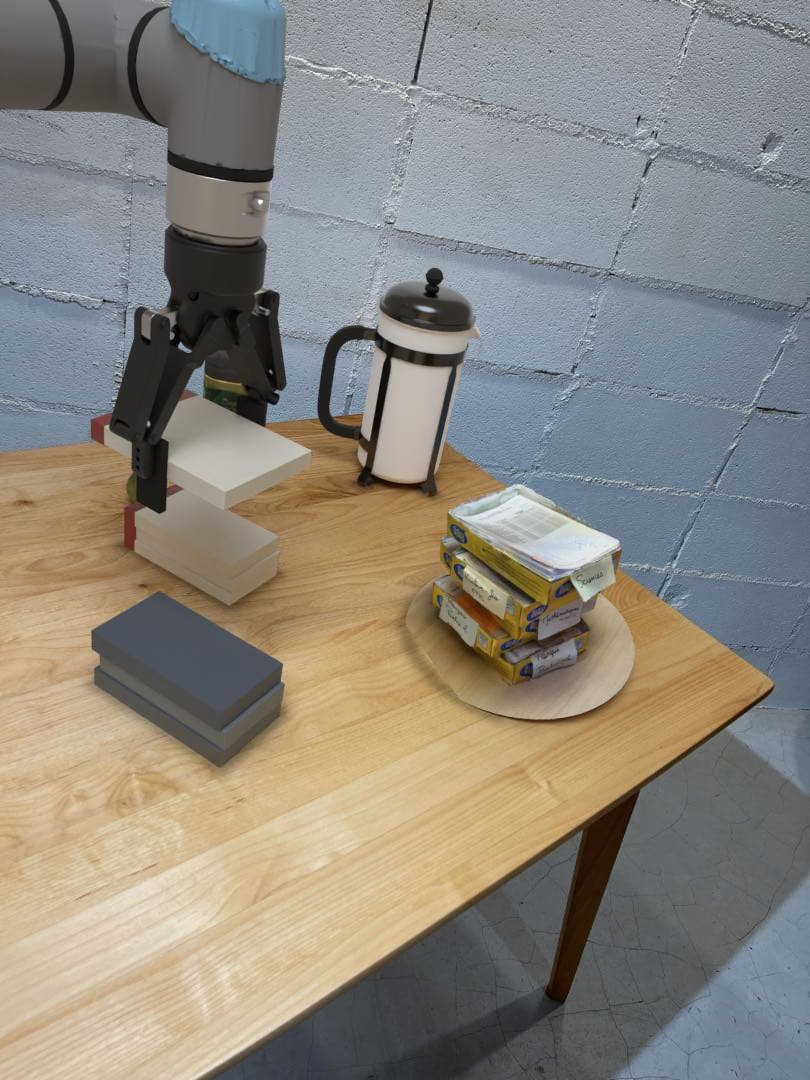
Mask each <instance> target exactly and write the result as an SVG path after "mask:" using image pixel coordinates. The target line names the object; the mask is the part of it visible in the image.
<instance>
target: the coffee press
mask: <svg viewBox="0 0 810 1080" xmlns="http://www.w3.org/2000/svg"><path fill="white" fill-rule="evenodd" d="M444 279H445V278H444V273H443V271H442V270H441V269H440V268H438V267H431V268H430V269H428V270H427V271H426V274H425V280H415V279H412V280H403V281H399V282H396V283H394V284H392V285H391V286H390V287H389V288H387V289H386V291H385V292H384V294H383V295H382V296H381V297H379V299H378V300H379V301H378V308H379V311H380V313H379V320H378V324H377V325H376V327H375V328H373V327H368V326H364V325H363V324H362V325H361V324H352V325H346V326H343V327H341V328H340V329H338V330H336V331H335V333H333V334H332V336H331V337H330V338H329V340H328V341H327V343H326V346H325V349H324V354H323V358H322V365H321V370H320V371H321V372H320V379H319V387H318V393H317V404H316V408H317V409H316V411H317V417H318V420H319V423H320V425H321V426H322V427H323V429H324V430H326V431H327V432H328V433H330V434H332V435H333V436H337V437H340V438H343V439H350V440H354V441H357V442H358V444H357V445H358V446H357V449H356V453H357V459H358V461H359V464H360V465H361V466H362V467H363V469H362V471H361V472H360V474H359V475H358V476H357V479H356V484H357V485H359V486H360V487H362V488H365V485H366V486H368V487H369V486H371V485H372V484H373V482H374V481H375V480H376V479H378V478H379V479H382V480H384V481H389V482H392V483H398V484H418V486H419V487H420V489H421V491H422V493H423V494H427V493H429V495H428V497H432V496H434V495H436V494H438V487H437V485H436V480H435V475H436V473H437V472H438V471H439V468H440V464H441V460H442V455H443V451H444V446H445V442H446V438H447V434H448V430H449V426H450V421H451V417H452V412H453V407H454V403H455V400H456V395H457V390H458V386H459V382H460V377H461V373H462V369H463V364H464V362H465V361H466V359H467V356H468V352H469V351H468V350H469V346H470V345H469V341H470V339H478V340H482V338H483V336H482V333H481V331H480V329H479V327H478V324H477V323H476V322H477V316H476V314H475V312H474V306H473V304H472V302H471V301H470V300H469V298H468V297H467V296H466V295H464V294H463V293H462V292H460V291H459V290H457V289H455V288H452V287H450V286H447V285H444V284H442V282H443V280H444ZM362 340H363V341H364V340H365V341H373V342H374V349H373V355H372V362H371V367H370V372H369V379H368V384H367V385H368V386H367V391H366V398H365V403H364V410H363V415H362V420H361V421H362V422H361V423H360V424H359V425H350V424H344V423H341V422H339V421H337V420H335V419H334V417H333V416H332V413H331V410H330V406H331V405H330V404H331V398H332V390H333V383H334V377H335V371H336V363H337V358H338V354H339V352H340V350H341V349H342V347H343V346H344V345H345V344H346V343H348V342H351V341H362ZM426 481H427V482H426Z"/></svg>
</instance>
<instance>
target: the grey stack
mask: <svg viewBox="0 0 810 1080" xmlns="http://www.w3.org/2000/svg"><path fill="white" fill-rule="evenodd" d="M90 634H91V635H90V638H91V650H92V651H94V652H95V653H97V654H98V655H99V664H98V665H96V666H95V667H94V668H93V677H94V679H93V680H94V683H93V684H94V685H95V686H96V687H98V688H99V689H100V690H102V691H104V692H105V693H107V694H108V695H110V696H111V697H113V698H114V699H116V700H117V701H119V702H120V703H122V704H123V705H125V707H127V708H129V709H131V710H132V711H134V712H135V713H136V714H138V715H139V716H141V717H143V718H144V719H146V720H147V721H149V722H150V723H152V724H153V725H155V726H156V727H157V728H159V729H160V730H162V731H163V732H165V733H167V734H168V735H170V736H171V737H172V738H174V739H175V740H177V741H179V742H180V743H181V744H183V745H184V746H186V747H187V748H189V749H190V750H192V751H193V752H195V753H196V754H198V755H200V756H201V757H202V758H204V759H205V760H207V761H209V762H210V763H211V764H212V765H214V766H215V767H218V768H219V769H220V768H222V767H223V766H224V765H226V764H227V763H228V762H229V761H230V760H232V759H233V758H234V757H235V756H236V755H237V754H238V753H239V752H240V751H242V750H243V749H244V748H245V747H246V746H247V745H248V744H250V743H251V742H252V741H253V740H254V739H256V737H258V736H259V735H260V734H261V733H262V732H263V731H265V730H266V729H267V728H268V727H269V726H270V725H271V724H273V723H274V722H275V721H276V720H277V719H278V718H279V717H280V713H281V707H282V702H283V700H284V699H283V698H284V691H285V685H286V684H285V682H283V681H282V674H283V669H284V668H283V667H284V663H283V662H281V660H278V659H276V658H275V657H273V656H271V655H270V654H268V653H266V652H264V651H263V650H261V649H259V648H257V647H256V646H254V645H252V644H251V643H249V642H247V641H245V640H244V639H243V638H240V637H239V636H237V635H236V634H234V633H232V632H230V631H228V630H227V629H225V628H223V627H222V626H221V625H218V624H217V623H215V622H214V621H211V620H210V619H208V618H207V617H205V616H203V615H202V614H200V613H198V612H196V611H194V610H193V609H191V608H190V607H187V605H184V604H183V603H181V602H180V601H177V600H176V599H174V598H172V597H171V596H169V595H167V594H166V593H164V592H162V591H160V590H157V592H155V593H154V594H151V595H149V596H148V597H146V598H145V599H143V600H141V601H139V602H138V603H136V604H134V605H132V606H131V607H129V608H127V609H126V610H123V611H122V612H120V613H119V614H117V615H115V616H113V617H112V618H110V619H108V620H107V621H104V622H103V623H101V624H100V625H97V626H96V627H94V628H93V629H91V631H90Z"/></svg>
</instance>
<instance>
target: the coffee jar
mask: <svg viewBox="0 0 810 1080" xmlns="http://www.w3.org/2000/svg"><path fill="white" fill-rule="evenodd" d="M202 382H203V385H202V397H203V398H205V399H207V400H209V401H211V402H213V403H215V404H217V405H219V406H221V407H223V408H225V409H227V410H229V411H231V412H234V413H236V406H237V396H240V395H245V396H247V397H248V393H246V392H245V391H244V389H243V386H242V384H241V382H240V380H239V378H238V376H237V374H236V372H235V370H234V367H233V365H232V363H231V361H230V359H229V357H228V355H227V353H226V351H222V350H219V351H217V352H216V353H214V354H213V355H209V356H207V357H206V359H205V361H204V367H203V381H202Z"/></svg>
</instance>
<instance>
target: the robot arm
mask: <svg viewBox="0 0 810 1080" xmlns="http://www.w3.org/2000/svg"><path fill="white" fill-rule="evenodd" d="M287 23H288V21H287V13H286V11H285V8H284V6H283V5H282V3H281V1H279V0H171V4H170V6H168V5H167V6H166V5H161V4H158V3H154V2H150V1H147V0H0V111H1V110H2V111H3V110H5V111H43V112H66V113H67V112H71V113H105V114H106V113H107V114H108V113H109V114H118V115H122V116H128V117H130V118H134V119H137V120H141V121H144V122H148V123H152V124H154V125H156V126H159V127H162V128H165V129H167V147H166V148H167V151H166V183H165V184H166V185H165V188H166V189H165V209H164V212H165V213H164V217H165V218H166V219H167V220H168V222H169V223H170V225H168V227H167V228H165V230H164V246H163V247H164V248H163V249H164V251H163V272H164V275H165V277H166V279H167V281H168V283H169V287H170V295H169V298H168V301H167V302H166V305H165V307H163V308H159V309H158V308H157V309H153V310H152V309H150V308H148V307H145V306H141V305H140V306H138V307H137V308H136V309H135V311H134V313H133V339H132V342H131V347H130V350H129V353H128V357H127V360H126V364H125V368H124V371H123V375H122V377H121V378H122V379H121V381H120V385H119V389H118V392H117V396H116V400H115V403H114V406H113V410H112V412H113V413H112V412H111V413H112V417H111V420H110V424H109V430H110V431H111V432H112V433H114V434H116V435H118V436H120V437H122V438H124V439H125V440H127V441H129V442H131V443H132V460H131V470H132V474H133V473H135V474H136V501H137V502H139V503H141V504H142V505H144V506H146V507H148V508H149V509H151V510H153V511H155V512H156V513H158V514H161V513H163V512H165V511H166V501H167V488H168V480H167V466H168V449H169V442H168V441H166V440H165V439H163V438H161V437H162V435H163V433H164V431H165V429H166V427H167V424H168V422H169V420H170V418H171V416H172V414H173V412H174V410H175V408H176V406H177V404H178V402H179V400H180V398H181V396H182V394H183V392H184V390H185V389H187V386H188V383H189V381H190V380H191V377H192V376H193V373H194V371H196V370H198V369H201V368H202V366H203V365H204V364H205V359H206V357H207V356H209V355H213V354H214V353H216V352H217V351H219V350H222V351H226V353H227V355H228V357H229V359H230V361H231V363H232V365H233V367H234V370H235V372H236V374H237V376H238V378H239V380H240V382H241V384H242V386H243V389H244V391H245V392H246V393H248V397H247V396H245V395H240V396H237V406H236V414H238V415H240V416H242V417H244V418H246V419H248V420H250V421H252V422H254V423H256V424H258V425H260V426H262V427H264V428H266V424H267V415H268V406H269V405H271V406H276V405H277V404H278V403H279V401H280V397H281V396H280V395H281V394H279V393H277V392H276V391H279V392H283V391H284V390H285V389H286V387H287V375H286V367H285V360H284V353H283V345H282V338H281V331H280V323H279V310H280V299H281V296H280V293H279V292H278V291H276V290H273V289H270V288H268V287H266V286H264V283H265V282H264V281H265V272H266V264H267V254H268V253H267V251H268V245H267V243H266V241H265V240H264V238H263V236H265V235H266V234H267V233H268V232H269V225H270V224H269V222H270V211H271V198H272V189H273V178H274V171H275V165H274V160H275V152H276V144H277V136H278V130H279V122H280V121H279V120H280V115H281V106H282V100H283V92H284V83H285V81H286V78H287V69H286V67H285V65H286V45H287V44H286V39H287ZM180 344H181V345H182V346H183V347H184V348H185V349H186V350H189V351H190V352H187V351H185V350H183V349H181V348H179V345H180ZM148 421H149V422H150V426H148V425H147V423H148Z"/></svg>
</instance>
